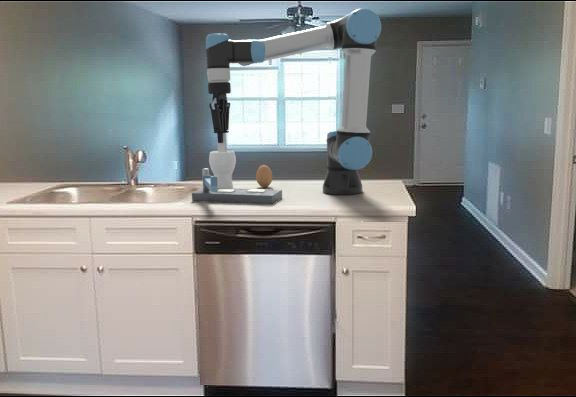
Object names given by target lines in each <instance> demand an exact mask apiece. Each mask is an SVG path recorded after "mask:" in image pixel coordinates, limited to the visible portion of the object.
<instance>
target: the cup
mask: <svg viewBox="0 0 576 397" xmlns="http://www.w3.org/2000/svg"><path fill="white" fill-rule="evenodd" d="M208 157H209V158H208V164H209V167H210V170H211V172H212V173H213V176H217V183H218V188H234V184H233V181H232V180H233V172H234V171H235V168H236V163H237V158H236V153H235V151H234V150H227V152H226V153H218V150H212V151H210V152H209V156H208Z"/></svg>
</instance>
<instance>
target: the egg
mask: <svg viewBox="0 0 576 397" xmlns="http://www.w3.org/2000/svg"><path fill="white" fill-rule="evenodd" d="M255 179H256V182H257V185H259V186H260V187H262V188H267V187H269V186H270V185H271V183H272V181H273V172H272V170H271V168H270V167H269V166H268V165H266V164H262V165H259V167H258V168H257V171H256V175H255Z"/></svg>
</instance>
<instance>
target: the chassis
mask: <svg viewBox="0 0 576 397" xmlns="http://www.w3.org/2000/svg"><path fill="white" fill-rule="evenodd" d="M201 174H202V175H201V176H202V178H203V175H210V169H209V168H207V167H205V168H202V169H201ZM281 198H282V199H283V190H282V189H266V188H265V189H262V188H236V187H235V188H234V187H233V188H218V192H211V191H210V190H209V188H208V187H203V186H202V188H200V189H199V190H196V191H193V192H191V200H192V202H198V201H208V202H207V203H226V204H228V203H229V204H250V205H251V204H256V205H257V204H258V205H259V204H260V205H273V203H274V204H275V203H277V202H279V199H280V200H282V199H281ZM276 201H277V202H276Z"/></svg>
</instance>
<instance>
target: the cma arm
mask: <svg viewBox="0 0 576 397" xmlns="http://www.w3.org/2000/svg"><path fill="white" fill-rule="evenodd" d="M203 187H208V188H209V190H210V191H211V192H218V183H217V176H214V175H211V174H209V175H203V177H202V188H203Z"/></svg>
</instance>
